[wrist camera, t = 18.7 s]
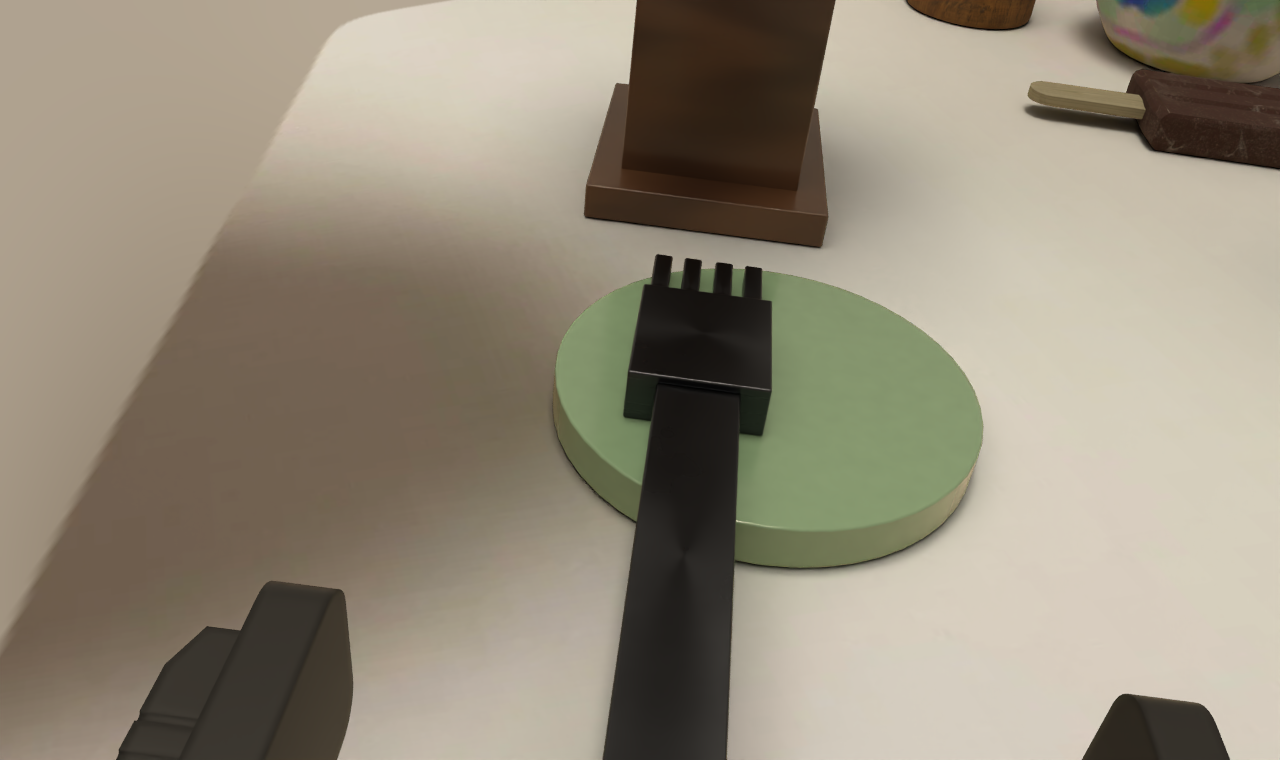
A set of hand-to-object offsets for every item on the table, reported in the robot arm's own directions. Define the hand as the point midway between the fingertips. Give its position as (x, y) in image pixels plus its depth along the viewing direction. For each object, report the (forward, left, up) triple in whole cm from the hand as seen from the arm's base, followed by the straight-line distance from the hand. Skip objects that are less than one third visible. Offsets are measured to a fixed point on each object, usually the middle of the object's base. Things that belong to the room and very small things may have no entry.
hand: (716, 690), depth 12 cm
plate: (+2, +16, -8) cm, 18 cm away
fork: (0, +11, -7) cm, 13 cm away
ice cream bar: (+21, +40, -9) cm, 46 cm away
